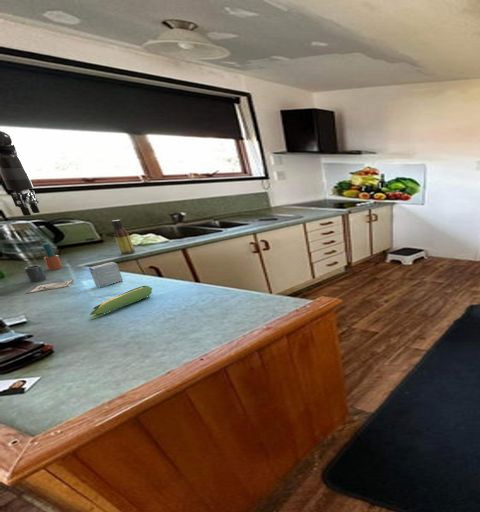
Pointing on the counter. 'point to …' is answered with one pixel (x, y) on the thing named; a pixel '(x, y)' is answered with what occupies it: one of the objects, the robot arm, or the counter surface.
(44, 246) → the marker
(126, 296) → the edible corn
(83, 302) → the counter surface
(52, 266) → the pen cup
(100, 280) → the medicine box
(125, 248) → the sauce bottle
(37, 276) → the stand
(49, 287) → the beige cloth
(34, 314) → the counter surface
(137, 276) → the counter surface
